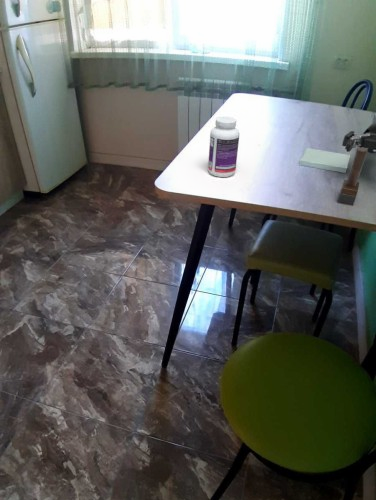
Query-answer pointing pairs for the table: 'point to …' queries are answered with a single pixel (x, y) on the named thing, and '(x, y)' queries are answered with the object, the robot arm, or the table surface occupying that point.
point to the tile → (325, 160)
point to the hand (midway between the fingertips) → (365, 151)
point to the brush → (352, 178)
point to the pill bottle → (223, 147)
